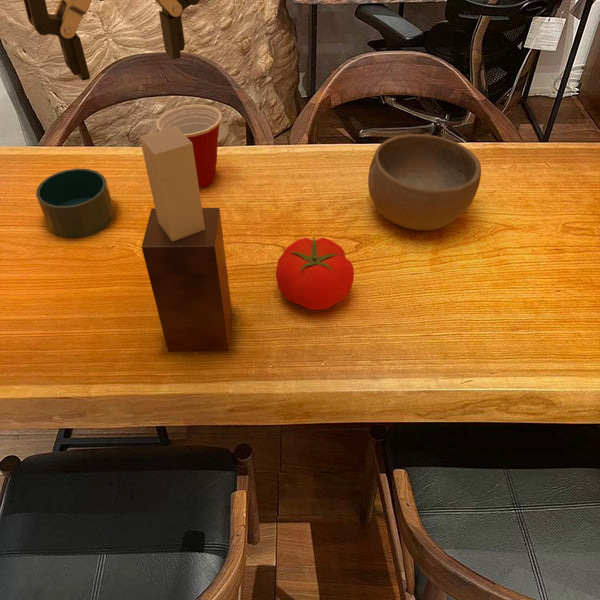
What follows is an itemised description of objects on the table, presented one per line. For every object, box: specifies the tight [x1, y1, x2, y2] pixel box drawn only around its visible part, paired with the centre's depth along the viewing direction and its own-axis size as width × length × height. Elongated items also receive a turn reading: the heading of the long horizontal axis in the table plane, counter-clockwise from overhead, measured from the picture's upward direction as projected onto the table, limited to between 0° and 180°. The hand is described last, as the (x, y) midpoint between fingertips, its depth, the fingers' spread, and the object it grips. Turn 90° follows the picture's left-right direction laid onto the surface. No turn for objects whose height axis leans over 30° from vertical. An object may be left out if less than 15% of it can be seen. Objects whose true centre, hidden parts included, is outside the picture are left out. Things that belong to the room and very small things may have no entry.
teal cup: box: [35, 168, 115, 239], centre depth 94 cm, size 11×11×6 cm
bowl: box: [367, 133, 482, 231], centre depth 94 cm, size 17×18×10 cm
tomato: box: [275, 237, 355, 311], centre depth 82 cm, size 11×11×8 cm
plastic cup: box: [155, 104, 222, 189], centre depth 100 cm, size 11×11×12 cm
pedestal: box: [141, 207, 233, 352], centre depth 73 cm, size 8×7×18 cm
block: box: [139, 126, 205, 242], centre depth 62 cm, size 4×4×11 cm
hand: (129, 66), depth 53 cm, fingers open, 8 cm apart
